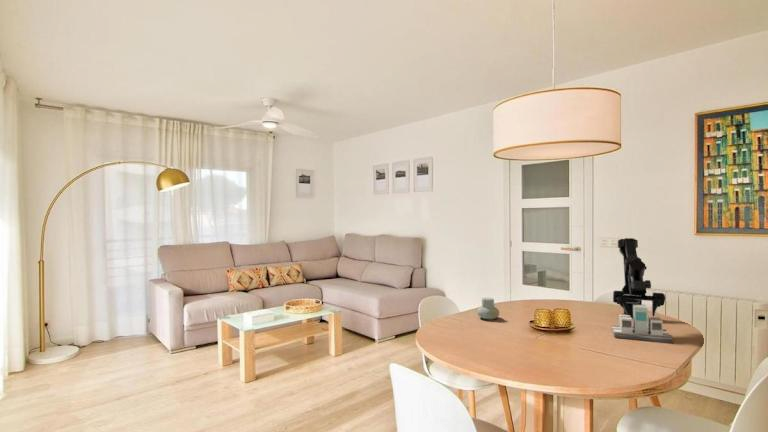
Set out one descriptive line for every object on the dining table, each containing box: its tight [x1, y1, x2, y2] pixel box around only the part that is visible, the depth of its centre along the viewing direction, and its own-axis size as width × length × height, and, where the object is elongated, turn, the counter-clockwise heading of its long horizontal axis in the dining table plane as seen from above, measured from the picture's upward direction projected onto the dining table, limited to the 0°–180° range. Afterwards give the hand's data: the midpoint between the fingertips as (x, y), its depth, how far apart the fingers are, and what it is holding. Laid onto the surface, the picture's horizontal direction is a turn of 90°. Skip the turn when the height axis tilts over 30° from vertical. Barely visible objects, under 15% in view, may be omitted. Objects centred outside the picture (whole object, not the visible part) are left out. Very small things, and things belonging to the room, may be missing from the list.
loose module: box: [632, 304, 648, 334], centre depth 167 cm, size 6×4×11 cm
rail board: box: [611, 313, 674, 344], centre depth 167 cm, size 14×20×8 cm
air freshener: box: [476, 297, 500, 321], centre depth 201 cm, size 11×8×10 cm
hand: (640, 314), depth 166 cm, fingers open, 9 cm apart
